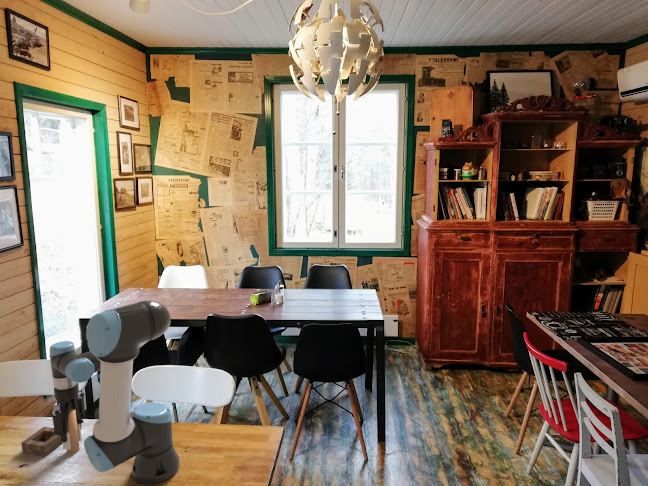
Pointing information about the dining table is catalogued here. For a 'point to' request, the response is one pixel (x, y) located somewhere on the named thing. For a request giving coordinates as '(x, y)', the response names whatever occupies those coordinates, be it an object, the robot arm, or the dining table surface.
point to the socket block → (38, 446)
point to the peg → (73, 432)
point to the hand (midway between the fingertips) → (72, 444)
